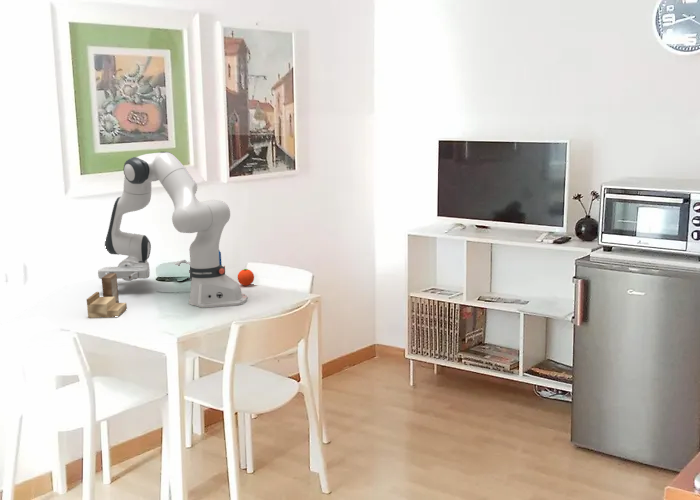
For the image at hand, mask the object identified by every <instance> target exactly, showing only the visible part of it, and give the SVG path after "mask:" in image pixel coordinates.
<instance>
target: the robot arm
mask: <svg viewBox="0 0 700 500" xmlns="http://www.w3.org/2000/svg"><path fill="white" fill-rule="evenodd" d="M123 174H124V178H123V191H122V195H121V196H119V197H117V198H116V199H115V201H114V204H113V208H112V212H111V216H110V221H109V224H108V230H107V234H106V237H105V239H106V241H104V247H105V246H106V248H105V250H106V249H107V250H106V251H107V252H108V253H109V254H111V255H118V256H119V255H120V256H121V255H122V256H127V257H126V258H124V259H123V260H122V261H121V262H119V263H118V264H117V266H105V267H102V268H100V269H98V272H97V276H98V277H97V278H98V279H99V280H102V277H104V276H105V275H107V274H108V273H116V274H117V280H119V279H120V280H121V279H122V280H123V281H127V282H129V281H131V282H132V281H134V280H139V279H140V280H141V279H148V278H149V277H150V272H151V270H150V264H149V262H148V259H149V257H150V256H151V255H150V254H151V249H152V247H151V246H152V245H151V244H152V243H151V241H150V239H149V238H148V236H147V235H144V234H140V233H138V234H137V233H131V232H124V231H122V230H121V229H120V228H121V224H122V220H123V216H124V214H128V213H133V212H137V211H141V210H143V209H144V208H146V207H147V206H148V205H149V204H150V202H151V198H152V182H157V181H158V182H159V183H160V184H161V186H162V187H163V188H164V190H165V192H167V194H168V196H169V197H170V199H171V201H172V203H173V206H174V209H173V212H172V215H171V217H172V218H171V221H172V224H173V227H174V228H175V230H176V231H177V232H179V233H183V234H194V233H196V236H195V238H194V240H193V241H192V242H191V244H190V246H189V249H188V250H189V262H190V270H189V273H190V278H189V279H190V294H189V300H188V304H189V305H192V306H196V307H198V308H215V307H217V308H218V307H229V306H232V307H233V306H239V305H240V306H241V305H243V304H245V303H246V302H247V301H248V295H247V294H246V293H242V290H241V287H240V283H239V282H237V281H236V280H234V279H233V278H232V277H230V276H229V275H227V274H226V265H224V266H223V264H222V265H220V264H219V250H220V241H221V237H222V233H223V230H224V228H225V226H226V224H227V223H228V222H229V220H230V218H231V210H230V209H231V208H230V206H229V205H228V204H227V202H225V201H223V200H220V199H219V200H218V199H209V200H203V201H200V200H198V199H197V196H196V194H197V191H198V185H197V182H196V181H195V180H194V178H193V177H192V175H191V174H190V172H189V171H188V170H187V168H186V167H185V166H184V165H183V163H182V162H181V161H180V159H178V158H177V157H176V156H175V155H174V154H173V153H172V152H169V151H160V152H153V153H144V154H141V155H138V156H133V157H131V158H129V159H127V160H126V161H125V162H124V165H123Z"/></svg>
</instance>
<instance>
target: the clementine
mask: <svg viewBox="0 0 700 500" xmlns="http://www.w3.org/2000/svg"><path fill="white" fill-rule="evenodd" d="M237 281H238V284H239V285H242V286H246V287H247V286H250V285H251V284H252V283H254V281H255V275H254V272H253V271H252V270H250V269H249V268H244V269H241V270H240V271H239V272H238V274H237Z"/></svg>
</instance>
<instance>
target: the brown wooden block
mask: <svg viewBox="0 0 700 500" xmlns="http://www.w3.org/2000/svg"><path fill="white" fill-rule="evenodd" d="M101 284H102V285H101V286H102V288H101V289H102V297H115V299H116V303H120V301H119V300H120V298H119V287H118V279H117V274H116V273H108V274H107V275H105V276H104V277H102V279H101Z"/></svg>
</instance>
